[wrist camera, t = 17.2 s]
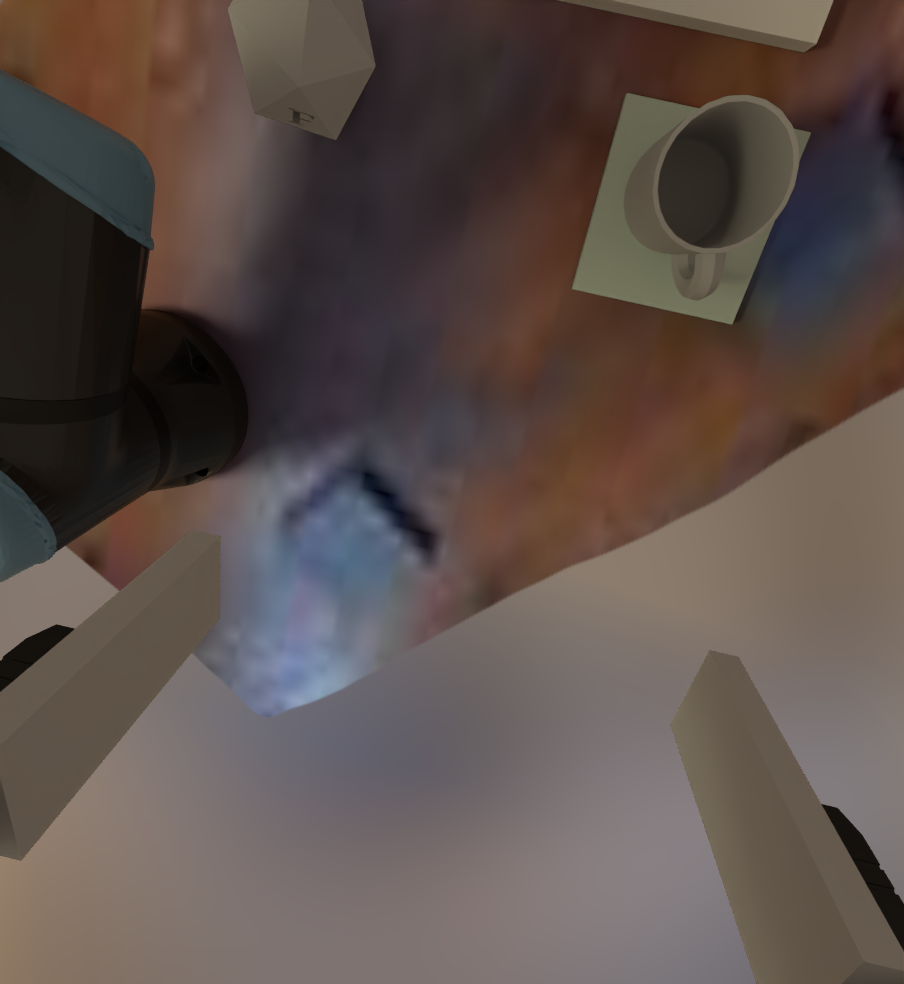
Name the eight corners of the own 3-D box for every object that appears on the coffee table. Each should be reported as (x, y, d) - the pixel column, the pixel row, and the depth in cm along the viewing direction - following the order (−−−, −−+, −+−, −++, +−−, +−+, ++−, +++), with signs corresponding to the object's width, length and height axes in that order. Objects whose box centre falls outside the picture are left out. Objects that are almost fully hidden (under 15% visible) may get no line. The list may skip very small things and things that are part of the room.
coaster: (571, 288, 39) (572, 288, 39) (624, 96, 34) (626, 92, 34) (728, 323, 39) (732, 324, 38) (804, 135, 34) (811, 132, 33)
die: (241, 67, 37) (221, 140, 32) (245, -106, 30) (219, -46, 25) (358, 109, 39) (356, 182, 35) (386, -41, 32) (388, 24, 28)
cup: (736, 122, 34) (806, 79, 26) (728, 287, 38) (787, 296, 29) (620, 145, 35) (652, 111, 27) (624, 303, 39) (652, 315, 31)
